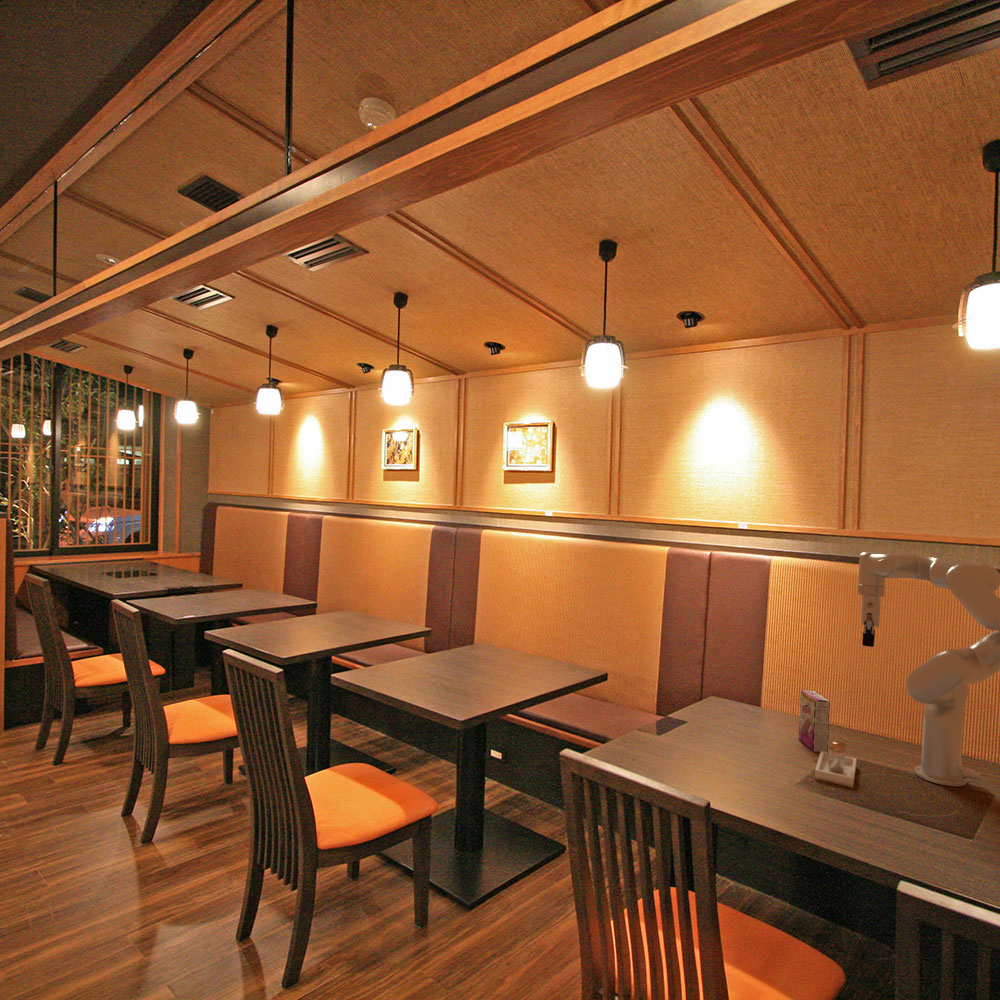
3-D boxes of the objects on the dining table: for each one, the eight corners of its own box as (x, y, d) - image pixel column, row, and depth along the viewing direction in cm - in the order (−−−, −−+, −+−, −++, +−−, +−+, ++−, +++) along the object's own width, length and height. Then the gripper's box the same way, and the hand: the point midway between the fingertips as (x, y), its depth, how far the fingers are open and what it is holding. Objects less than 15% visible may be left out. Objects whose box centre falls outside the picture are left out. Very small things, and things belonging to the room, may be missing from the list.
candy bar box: (797, 739, 222) (799, 689, 222) (812, 740, 222) (815, 690, 222) (812, 752, 211) (815, 699, 211) (828, 753, 211) (831, 700, 211)
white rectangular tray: (856, 766, 200) (856, 758, 200) (853, 787, 185) (853, 778, 185) (820, 759, 205) (820, 751, 205) (814, 778, 190) (815, 769, 190)
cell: (844, 770, 196) (846, 742, 196) (843, 774, 192) (845, 746, 192) (828, 766, 198) (830, 739, 198) (827, 771, 194) (829, 743, 194)
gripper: (884, 594, 208) (881, 650, 209) (884, 589, 223) (881, 641, 224) (856, 592, 212) (854, 646, 212) (858, 586, 227) (856, 637, 227)
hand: (868, 643), depth 218 cm, fingers open, 9 cm apart
